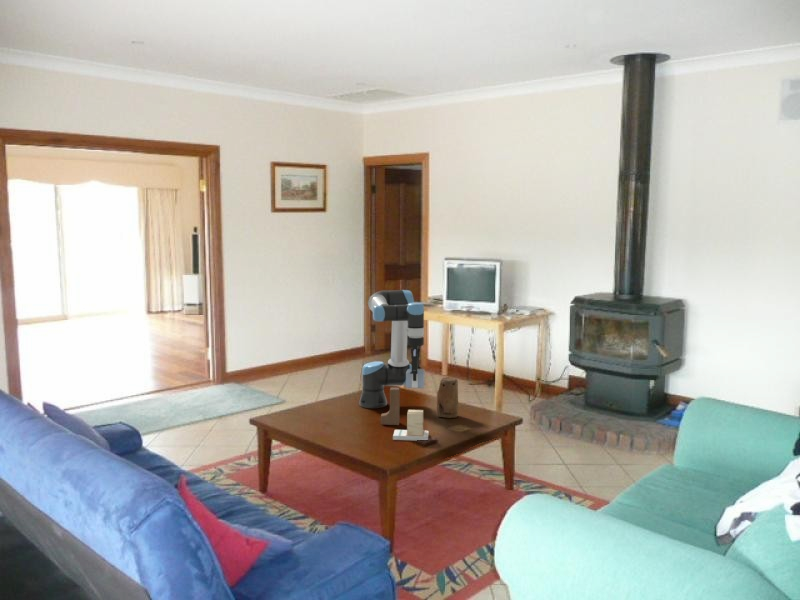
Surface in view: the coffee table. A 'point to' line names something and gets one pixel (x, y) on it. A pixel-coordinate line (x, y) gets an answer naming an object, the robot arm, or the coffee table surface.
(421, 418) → the beige box
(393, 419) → the wooden block
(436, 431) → the coffee table surface
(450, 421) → the coffee table surface
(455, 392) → the block
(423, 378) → the slate block
